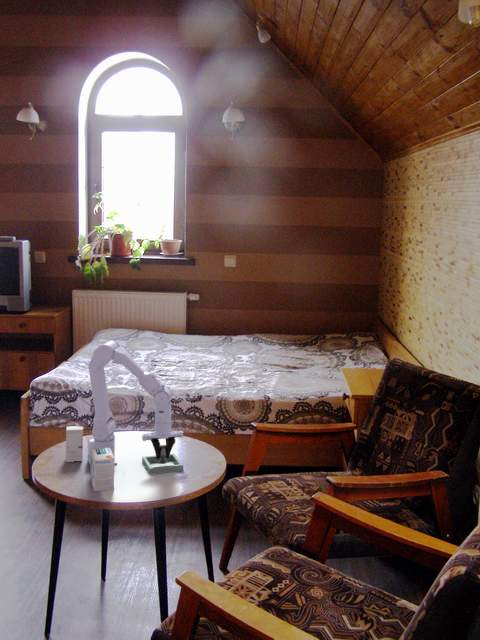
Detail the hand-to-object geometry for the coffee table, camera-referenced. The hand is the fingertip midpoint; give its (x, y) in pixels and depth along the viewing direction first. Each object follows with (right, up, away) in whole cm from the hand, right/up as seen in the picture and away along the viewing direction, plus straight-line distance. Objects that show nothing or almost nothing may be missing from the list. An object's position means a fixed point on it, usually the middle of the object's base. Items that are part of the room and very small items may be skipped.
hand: (162, 457), depth 236 cm
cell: (0, -2, 0) cm, 2 cm away
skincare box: (-33, -2, +4) cm, 33 cm away
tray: (0, -3, 0) cm, 3 cm away
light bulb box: (-18, -5, -17) cm, 25 cm away
